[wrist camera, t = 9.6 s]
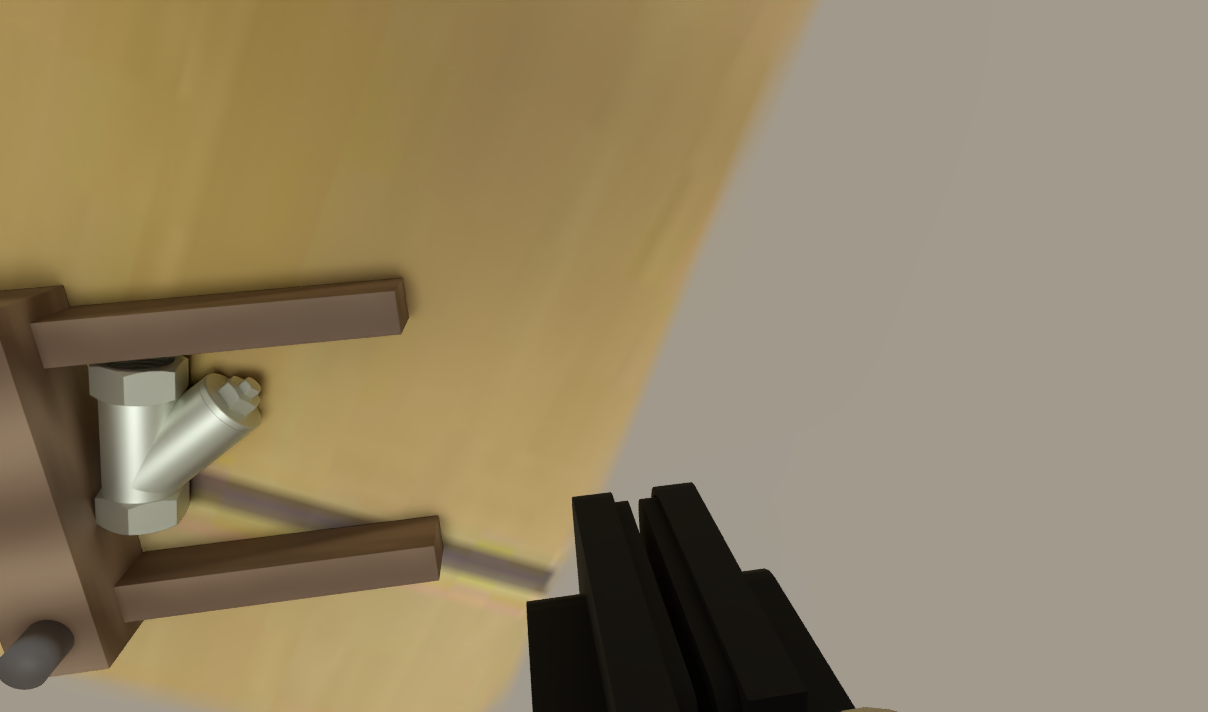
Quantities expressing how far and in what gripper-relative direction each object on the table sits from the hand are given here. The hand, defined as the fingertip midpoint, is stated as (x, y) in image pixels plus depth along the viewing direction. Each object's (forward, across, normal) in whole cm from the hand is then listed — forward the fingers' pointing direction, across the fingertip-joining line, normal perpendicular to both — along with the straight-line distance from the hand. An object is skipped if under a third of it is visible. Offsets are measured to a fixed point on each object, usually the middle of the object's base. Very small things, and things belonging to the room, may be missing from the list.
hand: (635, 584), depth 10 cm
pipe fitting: (+28, +18, +7) cm, 33 cm away
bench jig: (+27, +17, +8) cm, 33 cm away
